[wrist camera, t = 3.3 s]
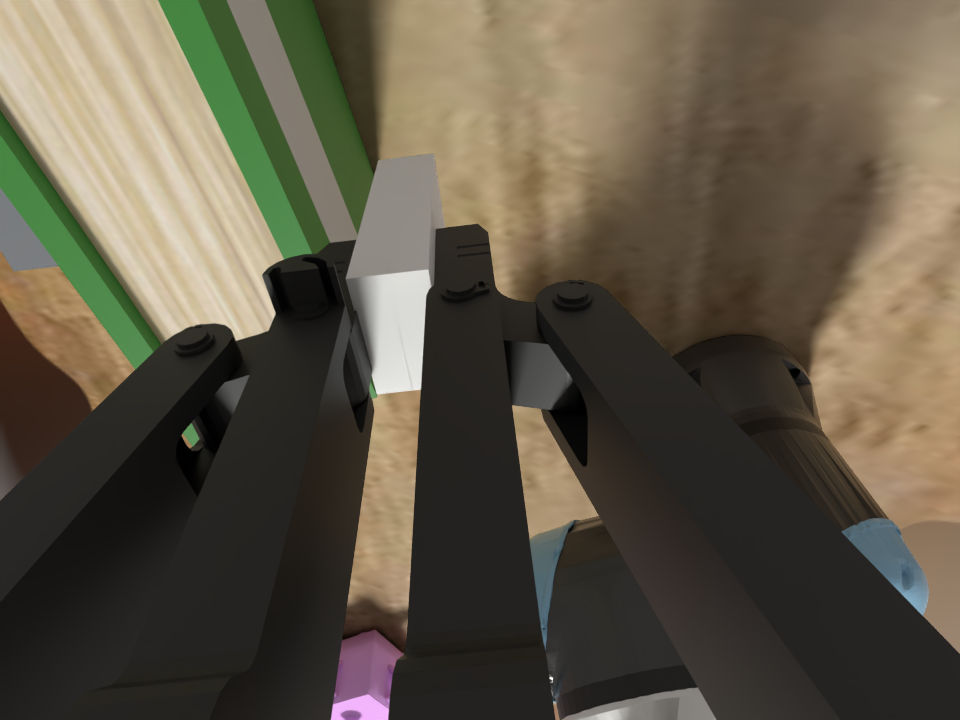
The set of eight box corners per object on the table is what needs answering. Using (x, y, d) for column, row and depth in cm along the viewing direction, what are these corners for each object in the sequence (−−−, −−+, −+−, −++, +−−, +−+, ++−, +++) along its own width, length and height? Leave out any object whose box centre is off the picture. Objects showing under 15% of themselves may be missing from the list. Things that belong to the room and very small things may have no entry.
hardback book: (378, 188, 42) (377, 397, 23) (279, 217, 43) (194, 448, 23) (269, -123, 32) (97, -222, 13) (138, -83, 32) (-228, -120, 13)
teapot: (326, 687, 85) (314, 769, 76) (264, 642, 77) (242, 728, 69) (438, 653, 81) (437, 735, 72) (384, 602, 73) (376, 688, 65)
